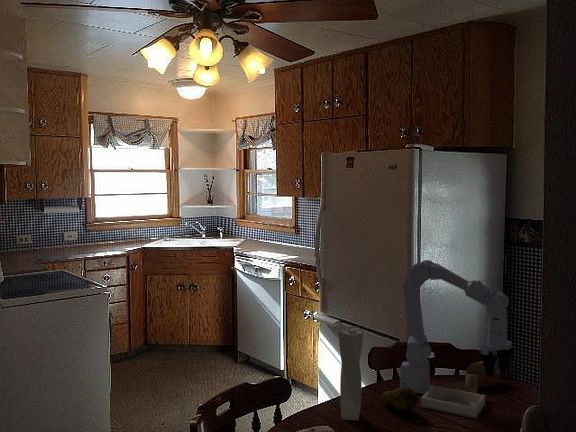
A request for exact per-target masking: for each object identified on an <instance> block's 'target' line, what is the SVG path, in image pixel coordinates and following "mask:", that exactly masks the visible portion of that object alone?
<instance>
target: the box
mask: <svg viewBox="0 0 576 432" xmlns="http://www.w3.org/2000/svg"><path fill="white" fill-rule="evenodd" d="M431 386H432V387H431V388H430V389H429V390H428V391H427V392H426V393H425V394H422V396H421V398H420V407H421V408H423V409H428V410H431V411H432V410H433V411H437V412H443V413H447V414H452V415H456V416H462V417H467V418H469V419H470V418H471V419H476V420H477V418H478V416H479V415H480V413H481V412H482V410H483V408H484V407H485V406H486V395H485V394H479V393H477V394H475V393H470V392H466V391H464V390H458V389H453V388H447V387H442V386H438V385H431Z"/></svg>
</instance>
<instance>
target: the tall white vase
mask: <svg viewBox="0 0 576 432" xmlns="http://www.w3.org/2000/svg"><path fill="white" fill-rule="evenodd" d="M357 329H359V330H360V331H358V330H357ZM338 342H339V343H338V344H339V351H340V361H341V362H340V363H341V367H340V379H339V382H340V383H339V385H340V386H339V387H340V389H339V390H340V391H339V393H340V394H339V399H340V417H341V419H340V420H345V421H357V422H358V421H360V414H361V406H362V390H363V389H362V388H363V387H362V383H363V382H362V372H361V370H362V369H361V365H360V360H361V355H362V351H363V350H362V348H363V342H364V331H363V329H362V328H361V327H360V326H356V325H355V326H354V325H353V326H350V327H349V326H348V327H341V328H339V329H338Z"/></svg>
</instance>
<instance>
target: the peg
mask: <svg viewBox="0 0 576 432" xmlns="http://www.w3.org/2000/svg"><path fill="white" fill-rule="evenodd" d="M465 392H470V393H475V394H478V388H477V375H474V374H465Z"/></svg>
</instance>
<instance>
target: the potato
mask: <svg viewBox="0 0 576 432" xmlns="http://www.w3.org/2000/svg"><path fill="white" fill-rule="evenodd" d="M417 394H418V393H416V392H414V391H413V390H412V389H410V388H403V387H402V388H400V387H398V388H395V389H393V390H387V391H384V392H383V393H382V394H381V401H382V403H383V404H384V405H386V406H387V407H391V408H392V409H395V410H398V411H413V409H414V408H416V406H417V405H418V403H419V398H418V395H417Z"/></svg>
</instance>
